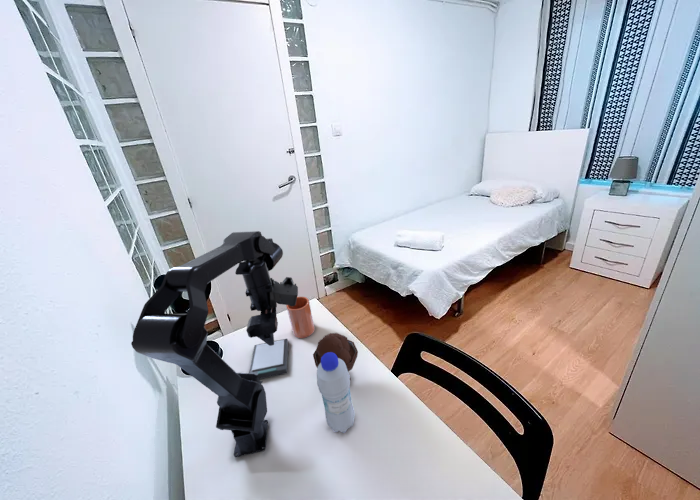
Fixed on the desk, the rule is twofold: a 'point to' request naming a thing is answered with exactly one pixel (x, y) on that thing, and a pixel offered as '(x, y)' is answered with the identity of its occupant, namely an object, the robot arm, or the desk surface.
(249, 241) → the robot arm
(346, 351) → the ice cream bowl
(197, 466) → the desk surface
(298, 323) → the tumbler
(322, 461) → the desk surface
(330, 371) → the bottle
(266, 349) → the scale
